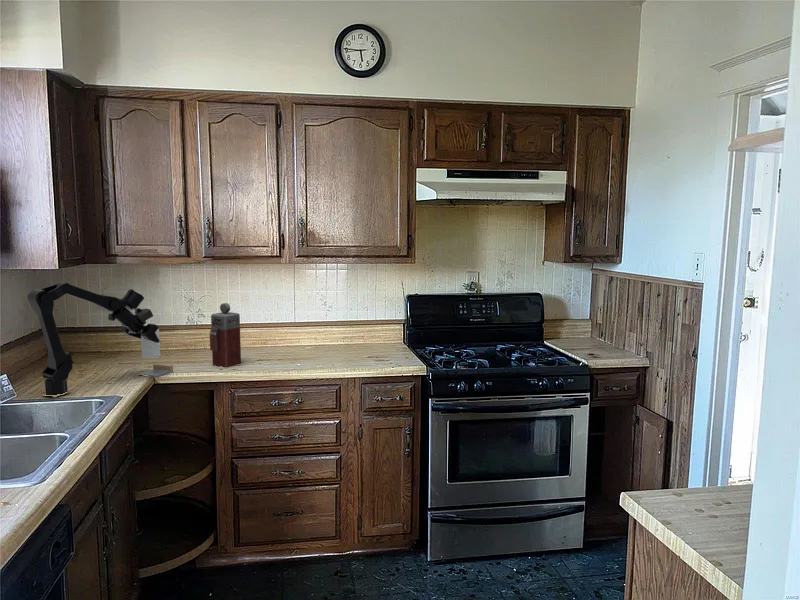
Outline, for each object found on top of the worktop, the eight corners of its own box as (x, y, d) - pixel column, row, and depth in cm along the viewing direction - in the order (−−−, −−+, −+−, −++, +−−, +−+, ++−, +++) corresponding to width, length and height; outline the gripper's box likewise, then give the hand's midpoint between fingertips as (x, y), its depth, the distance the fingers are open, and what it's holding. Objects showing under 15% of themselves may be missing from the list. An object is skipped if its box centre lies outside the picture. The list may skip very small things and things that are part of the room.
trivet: (156, 377, 236) (156, 370, 235) (138, 375, 238) (138, 369, 238) (173, 371, 245) (172, 365, 245) (155, 370, 248) (155, 363, 248)
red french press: (208, 366, 256) (206, 304, 252) (227, 361, 265) (225, 301, 262) (222, 368, 251) (220, 305, 248) (241, 363, 261) (239, 302, 257)
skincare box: (160, 356, 243) (159, 328, 241) (154, 358, 239) (153, 330, 237) (147, 355, 244) (146, 327, 242) (141, 357, 240) (140, 329, 238)
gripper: (152, 305, 229) (178, 328, 240) (127, 301, 240) (152, 323, 250) (135, 327, 224) (162, 349, 235) (109, 322, 235) (136, 344, 245)
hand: (153, 340), depth 241 cm, fingers closed on skincare box, 7 cm apart
